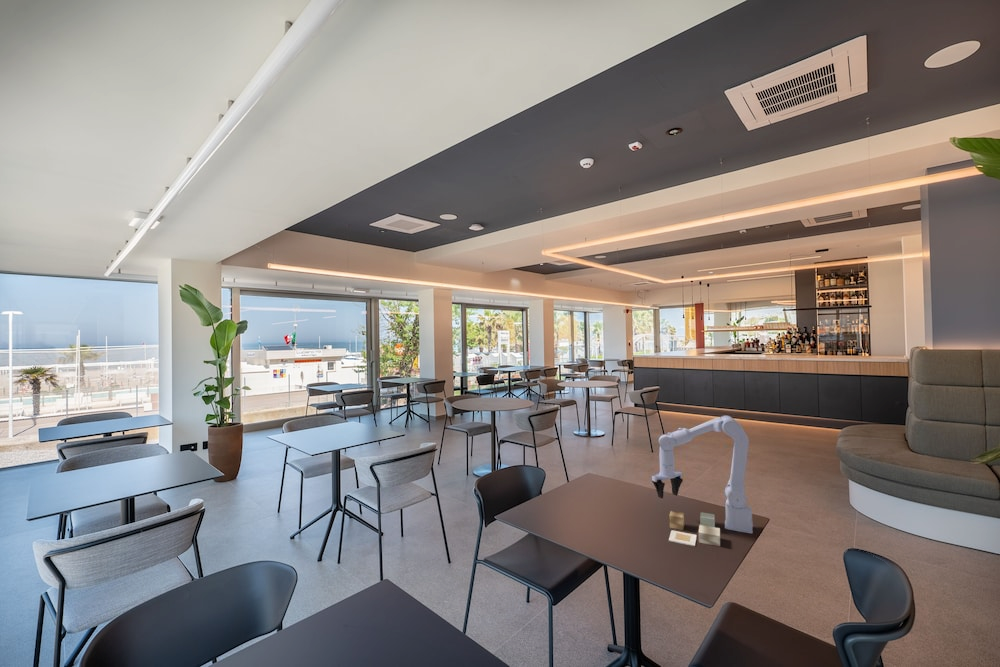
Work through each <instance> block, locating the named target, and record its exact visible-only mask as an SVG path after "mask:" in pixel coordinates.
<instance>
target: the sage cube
mask: <svg viewBox="0 0 1000 667" xmlns="http://www.w3.org/2000/svg"><path fill="white" fill-rule="evenodd" d="M715 515H716V514H713V513H707V512H703V511H702V512H701V511H700V516H699V520H700V521H699V523H700V524H699V525H704V526H709V527H715V528H716V518H715Z"/></svg>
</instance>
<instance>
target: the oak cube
mask: <svg viewBox="0 0 1000 667" xmlns="http://www.w3.org/2000/svg"><path fill="white" fill-rule="evenodd" d="M668 516H669V517H668V518H669V528H670V529H675V530H680V531H684V529H685V528H684V527H685V513H684V512H680V511H674V510H670V512H669V515H668Z"/></svg>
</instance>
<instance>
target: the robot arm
mask: <svg viewBox="0 0 1000 667" xmlns="http://www.w3.org/2000/svg"><path fill="white" fill-rule="evenodd" d="M677 429H678V430H674V431H672V432H671V431H669V432H667V434H661V435H660V437H658V440H657V441H658V444H659V454H658V455H659V458H658V459H659V473H656V474H654V475H651V481H652V482H651V483H652V484H653V486H654V488H655V491H656V493H657V497H658V498H660V499H664V490H665V485H666V483H665V482H663V481H664V480H670V484H671V491H672V495H674V496H678V494H679V490H680V487H681V484H682V483H684V482H683V481H684V479H683V472H682V471H675V453H674V448H675V447H678V446H681V445H684V444H686V443H689V442H692V440H693V438H694V437H697V436H700V435H702V434H707V433H709V432H717V433H722V432H723V433H724V434H726V435H727V436H729V437H730V438H732V440H733V441H734V442H733V451H732V460H731V466H730V476H729V480H727V484H726V487H725V488H724V495H725V497H726V501H725V520H724V529H725V530H730V531H736V532H740V533H746V534H753V532H754V530H753V528H754V521H753V511H752V509H753V508H752V506H747V505H746V504H747V501H748V500H747V497H746V495H745V493H746V488H745V476H746V469H747V459H748V452H749V443H750V439H749V437H748V435H747V433H746V432H745V430H744V428H743V426H742V425H741V424H740V423H739V422H738V421H737V420H735V418H733V417H732V416H730V415H722V416H718V417H714V418H712V419H710V420H707V421H705V422H702V423H701V424H698V425H696V426H694V427H691V428H686V427H683V428H682V427H679V428H677Z"/></svg>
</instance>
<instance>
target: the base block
mask: <svg viewBox="0 0 1000 667" xmlns="http://www.w3.org/2000/svg"><path fill="white" fill-rule="evenodd" d="M698 543H701V544H704V545H710V546H714V547H721V528H720V527H716V526H715V527H709V526H704V525H700V524H699V526H698Z"/></svg>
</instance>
